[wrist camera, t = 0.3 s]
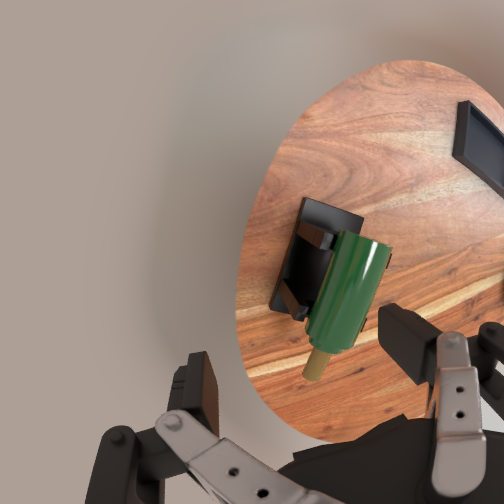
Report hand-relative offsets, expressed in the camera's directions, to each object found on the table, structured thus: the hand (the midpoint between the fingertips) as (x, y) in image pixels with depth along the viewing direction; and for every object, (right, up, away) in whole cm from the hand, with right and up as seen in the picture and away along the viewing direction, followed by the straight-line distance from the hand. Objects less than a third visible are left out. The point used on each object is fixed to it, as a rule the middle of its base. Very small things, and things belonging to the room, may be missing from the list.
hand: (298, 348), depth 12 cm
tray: (+39, +21, +22) cm, 49 cm away
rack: (+6, +3, +22) cm, 23 cm away
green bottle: (+6, -1, +16) cm, 17 cm away
